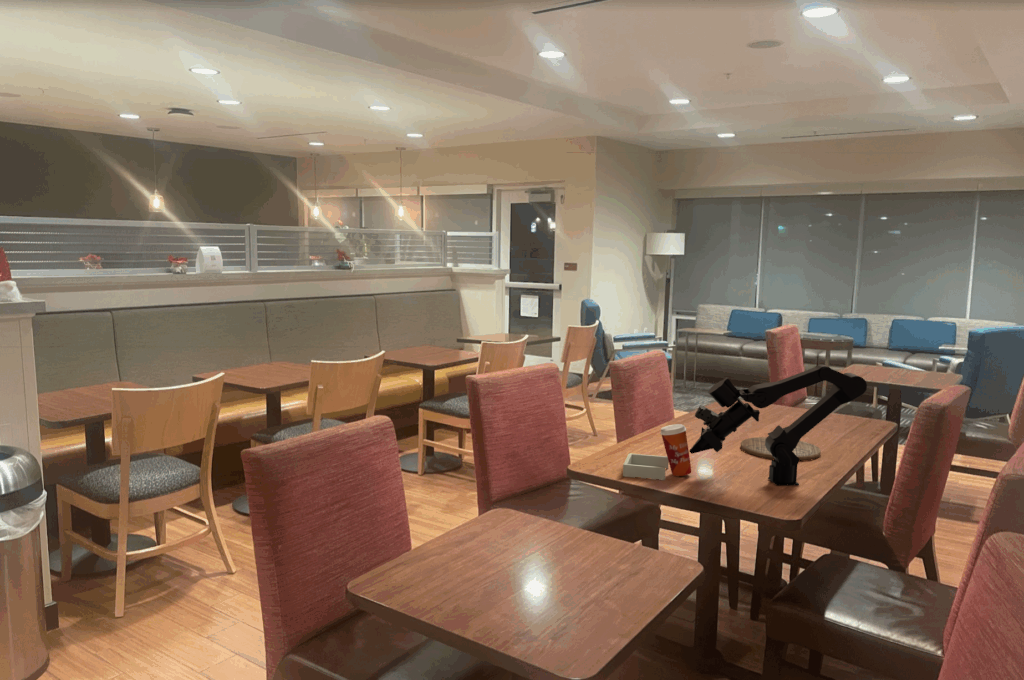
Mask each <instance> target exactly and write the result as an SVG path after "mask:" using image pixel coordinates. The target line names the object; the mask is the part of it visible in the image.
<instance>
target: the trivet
mask: <svg viewBox="0 0 1024 680" xmlns="http://www.w3.org/2000/svg"><path fill="white" fill-rule="evenodd" d="M767 437H768V436H757V437H750V438H745V439H743V440H741V442H740V449H742V450H741V451H742V452H744V451H745V452H744V453H746V452H747V453H746V454H748V453H749V454H748V455H751V456H754V455H755V456H754V457H757V456H758V458H761V457H763V458H762V459H767V458H769V459H768V460H773V459H775V458H774V457H772V454H771V453H770V452H769V451H768V450H767V448H766V446H765V440H766V438H767ZM821 451H822V450H821V448H820V447H819V446H817V445H815V444H814V443H813V444H812V443H810V442H807V441H803V440H800V441H799V442H798V444H797V446H796V448H795V449H794V450H793V451H792V452H793V453H794V454H795V455H796V456H797V457H798V458H799V459H800V460H801V461H800V462H803V461H802V460H808V461H812V460H811V459H813V460H816V459H815V458H817V459H818V457H819V458H820V457H821Z"/></svg>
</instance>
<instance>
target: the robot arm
mask: <svg viewBox="0 0 1024 680" xmlns="http://www.w3.org/2000/svg"><path fill="white" fill-rule="evenodd" d="M825 381H826V382H828V383H830V384H832V386H831V387H830V389H829V391H828V393H827V394H826V395H824V396H823V397H822V398H821V399H819V401H817V402H816V403H815V404H814V405H812V406H811V407H810V408H809V409H807V410H806V411H805V412H804V413H803V414H801V415H800V416H799V417H798V418H796V420H794V421H793V422H791V423H790V424H789V425H788V426H786V427H782V426H781V425H780V424H779V425H777V426H776V427H775V428H774V429H773V430H772V431H769V432H768V433H767V435H768V436H766V437H767V438H766V440H765V446H766V448H767V450H768V451H769V452H770V453H771V454H772V457H774V458H775V459H774V460H773V459H770V460H771V461H770V464H769V468H768V471H769V472H768V477H767V479H768V481H770V482H772V483H773V484H775V486H779V487H780V486H781V487H783V486H799V485H800V482H798V481H797V480H798V478H797V476H798V475H797V474H798V465H799V463H800V461H799V460H800V459H799V458H798V457H797V456H796V455H795V454H794V453H793V452H792V451H793V450H794V449H795V448H796V446H797V444H798V442H799V441H801V439H802V438H803V437H804V436H805V435H806V434H808V433H809V432H810V431H812V429H813V428H815V427H816V426H817V425H819V424H820V423H821V422H823V420H824V419H826V418H827V417H828V416H830V415H831V414H832V413H833V412H834V411H835V410H837V409H838V408H839V407H840V406H842V405H845V404H847V403H850V402H853V401H855V400H856V399H858V398H860V397H862V396H863V395H864V394H865V393H866V392H867V387H868V384H867V382H866V379H865V378H863V377H862V376H859V375H857V374H855V373H852V372H844V373H842V372H841V371H838V370H834V369H833V368H831V367H829V366H827V365H825V364H818V365H816V366H815V367H812V368H810V369H808V370H804V371H801V372H799V373H797V374H794V375H791V376H788V377H785V378H782V379H779V380H777V381H773V382H762V383H759V384H758V383H757V384H753V385H751V386H750V387H748V388H741V389H738V388H737V387H736V386H735V385H734V384H733V383H732V381H731V380H730V379H729V378H728V377H725V378H723V379H721V380H719V381H718V382H717V383H714V384H713V385H712V386H711V387H710V388H709V390H708V391H707V393H708V394H709V395H710V397H711V398H712V399H713V400H715V402H716V403H717V404H718V405H719V406H720V407H721V408H725V407H726V408H728V409H726V410H725V411H720V412H719V413H718V412H715V411H713V410H712V409H709V407H706V406H705V405H702V404H699V406H698V408H697V409H696V411H695V413H694V417H695V418H696V419H698V420H702V421H703V423H702V424H703V425H704V426H706V427H705V428H704V427H701V431H700V436H699V437H698V439H697V440H696V441H695V443H694V444H693V445H692V446H691V448H690V449H689V454H696V453H701V452H704V451H708V450H714V451H715V452H716V453H718V452H719V451H720V450H722V449H723V444H724V443H723V442H724V441H725V440H726V437H728V436H729V435H730V434H732V433H735V432H737V431H738V428H739V427H740V426H743V424H744V423H746V422H747V421H748V420H750V418H753V419H754V420H755V422H759V421H760V413H761V412H760V410H758V409H765V408H768V407H770V406H771V405H773V404H774V403H776V402H777V401H779V399H781V398H783V397H784V396H786V395H789V394H791V393H794V392H797V391H801V390H802V389H805V388H807V387H810V386H813V385H817V384H819V383H821V382H825ZM741 399H742V400H743V401H742V400H741ZM744 402H745V403H744ZM750 403H751V404H752V405H753V406H754V407H755V408H758V409H755V408H754V407H752V405H751V404H750Z"/></svg>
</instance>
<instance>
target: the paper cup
mask: <svg viewBox="0 0 1024 680" xmlns="http://www.w3.org/2000/svg"><path fill="white" fill-rule="evenodd" d="M659 435H661V438H662V442H663V445H664V449H665V454H666V456H667V457H668V461H669V465H668V466H669V468H670V471H671V474H672V476H673V477H683V476H688V475H691V474H692V465H691V457H690V449H689V446H688V445H689V444H688V438H687V428H686V426H685V425H684V424H681V423H675V424H669V425H666V426H662V427H661V428H660V432H659Z"/></svg>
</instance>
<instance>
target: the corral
mask: <svg viewBox="0 0 1024 680" xmlns="http://www.w3.org/2000/svg"><path fill="white" fill-rule="evenodd" d="M669 466H670V465H669V461H668V457H667V455H665V456H664V455H656V454H655V455H652V454H643V453H642V454H641V453H630V452H629V453H628V455H627V457H626V458H625V460H624V462H623V463H622V477H626V478H635V477H641V478H640V479H646V478H651V479H650V480H656V479H659V481H666V469H667V470H668V469H669ZM665 468H666V469H665Z"/></svg>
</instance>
